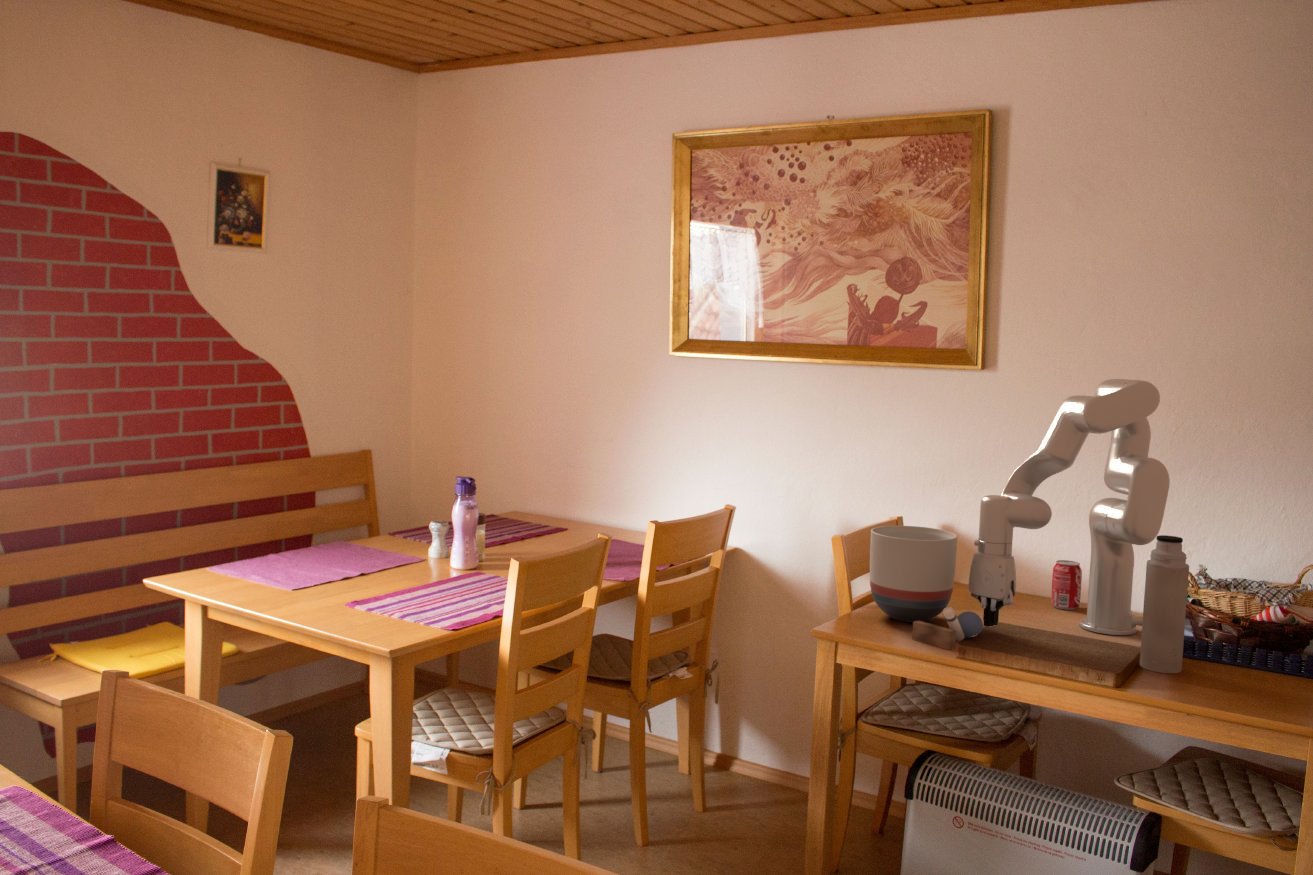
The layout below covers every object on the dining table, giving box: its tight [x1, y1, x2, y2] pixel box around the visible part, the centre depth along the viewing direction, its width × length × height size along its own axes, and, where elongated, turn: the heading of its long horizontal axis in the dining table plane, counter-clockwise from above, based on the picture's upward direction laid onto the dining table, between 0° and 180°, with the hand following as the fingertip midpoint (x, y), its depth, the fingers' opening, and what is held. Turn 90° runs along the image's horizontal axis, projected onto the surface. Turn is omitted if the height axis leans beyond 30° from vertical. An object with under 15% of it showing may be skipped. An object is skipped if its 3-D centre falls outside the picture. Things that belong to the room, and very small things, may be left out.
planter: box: [869, 525, 958, 623], centre depth 249 cm, size 20×20×21 cm
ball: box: [957, 610, 984, 639], centre depth 234 cm, size 6×6×6 cm
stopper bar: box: [911, 621, 956, 651], centre depth 228 cm, size 10×2×4 cm, turn 39°
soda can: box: [1050, 559, 1083, 611], centre depth 266 cm, size 7×7×12 cm
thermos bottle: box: [1139, 534, 1190, 674], centre depth 214 cm, size 8×8×28 cm
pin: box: [942, 606, 966, 642], centre depth 230 cm, size 2×2×8 cm
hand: (990, 625), depth 240 cm, fingers closed
